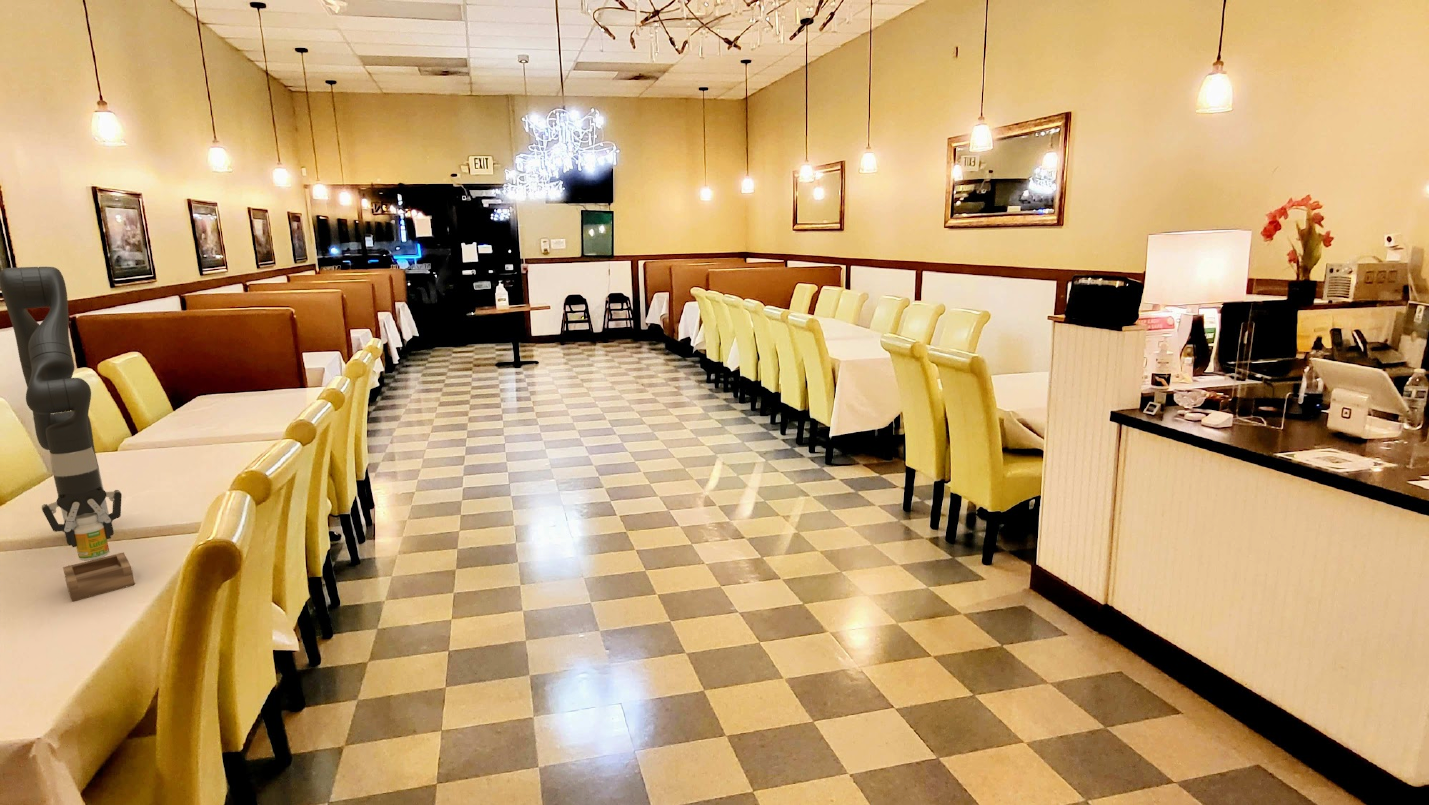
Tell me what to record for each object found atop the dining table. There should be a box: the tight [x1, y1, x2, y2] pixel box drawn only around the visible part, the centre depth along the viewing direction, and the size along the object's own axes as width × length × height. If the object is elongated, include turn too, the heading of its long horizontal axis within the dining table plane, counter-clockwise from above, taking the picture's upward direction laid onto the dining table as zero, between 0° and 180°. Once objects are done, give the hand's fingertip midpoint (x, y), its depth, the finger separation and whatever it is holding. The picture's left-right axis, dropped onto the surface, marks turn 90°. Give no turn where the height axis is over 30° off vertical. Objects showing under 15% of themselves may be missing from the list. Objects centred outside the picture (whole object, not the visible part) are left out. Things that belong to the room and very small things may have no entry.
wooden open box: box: [62, 551, 136, 602], centre depth 171 cm, size 11×11×4 cm
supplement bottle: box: [73, 512, 110, 562], centre depth 169 cm, size 5×5×10 cm
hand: (91, 541), depth 169 cm, fingers closed on supplement bottle, 5 cm apart
